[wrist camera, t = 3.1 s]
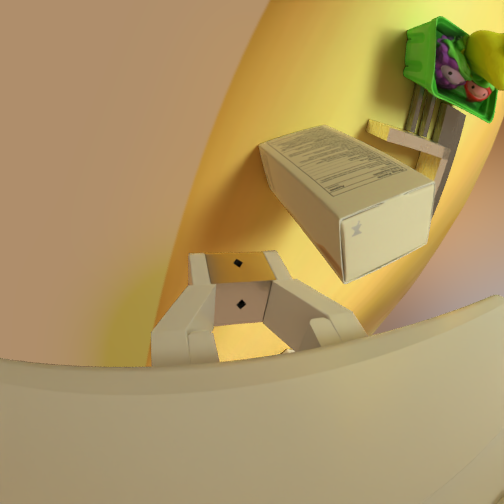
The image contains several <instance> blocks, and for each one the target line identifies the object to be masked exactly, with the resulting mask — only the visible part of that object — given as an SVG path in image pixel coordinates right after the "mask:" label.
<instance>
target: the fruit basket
mask: <svg viewBox="0 0 504 504" xmlns="http://www.w3.org/2000/svg"><path fill="white" fill-rule="evenodd" d="M407 37H408V39H409V40H408V41H407V43H406V53H405V65H406V67H405V69H404V71H403V75H404V77H406V78H408V79H410V80H411V81H413V82H415V83H417V84H419V85H420V86H422V87H424V88H425V89H427V90H428V92H429V93H431V94H432V95H434V96H435V97H437V98H439V99H442V100H444V101H446V102H449V103H451V104H453V105H455V106H457V107H459V108H461V109H463V110H465V111H467V112H469V113H471V114H473V115H475V116H477V117H479V118H480V119H482V120H484V121H485V122H487V123H491V122H492V120H493V118H494V113H495V107H496V101H497V93H498V90H502V91H504V33H495V32H491V31H486V30H480V31H476V32H474V33H473V34H471V35H468V34H467V33H466V32H464V31H463V30H462V29H460V28H459V27H457V26H456V25H455V24H453V23H452V22H450V21H449V20H447V19H446V18H444V17H442V16H439V17H437V18H434V19H432V20H431V21H430V22H427V23H425V24H422V25H419V26H417V27H414V28H412V29H409V30H408V31H407Z"/></svg>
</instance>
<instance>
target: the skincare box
mask: <svg viewBox="0 0 504 504" xmlns="http://www.w3.org/2000/svg"><path fill="white" fill-rule="evenodd" d="M259 151H260V155H261V159H262V163H263V167H264V171H265V174H266V178H267V181H268V184H269V187H270V189H271V191H272V192H273V193H274V194H275V196H276V197H277V198H278V199H279V201H280V202H281V203H282V204H283V206H284V207H285V208H286V209H287V211H288V212H289V213H290V214H291V216H292V217H293V218H294V219H295V221H296V222H297V223H298V225H299V226H300V227H301V228H302V230H303V231H304V232H305V234H306V235H307V236H308V238H309V239H310V240H311V241H312V243H313V244H314V245H315V247H316V248H317V249H318V251H319V252H320V253H321V254H322V256H323V257H324V258H325V260H326V261H327V262H328V264H329V265H330V266H331V268H332V269H333V270H334V272H335V273H336V274H337V276H338V277H339V278H340V280H341V281H342V282H343V284H347V283H349V282H352V281H354V280H356V279H359V278H361V277H363V276H365V275H368V274H370V273H372V272H374V271H376V270H378V269H380V268H382V267H384V266H386V265H388V264H390V263H392V262H394V261H396V260H398V259H400V258H402V257H403V256H405V255H407V254H409V253H411V252H413V251H415V250H416V249H418V248H420V247H422V246H424V245H425V244H427V241H428V235H429V230H430V224H431V219H432V212H433V205H434V197H435V188H436V183H435V182H434V181H433V180H431V179H429V178H428V177H426V176H424V175H423V174H421V173H419V172H418V171H416V170H414V169H413V168H411V167H409V166H407V165H406V164H404V163H402V162H400V161H398V160H397V159H395V158H393V157H391V156H389V155H388V154H386V153H384V152H382V151H380V150H378V149H376V148H374V147H372V146H370V145H368V144H366V143H364V142H362V141H360V140H358V139H355V138H353V137H351V136H349V135H347V134H345V133H342V132H340V131H338V130H336V129H333V128H331V127H329V126H326V125H322V126H317V127H313V128H309V129H305V130H302V131H298V132H295V133H291V134H288V135H285V136H282V137H279V138H276V139H273V140H270V141H267V142H265V143H262V144H259Z"/></svg>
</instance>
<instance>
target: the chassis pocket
mask: <svg viewBox="0 0 504 504" xmlns="http://www.w3.org/2000/svg"><path fill="white" fill-rule="evenodd" d="M424 89H425V88H424V87H422V86H420V85H419V84H415V88H414V93H413V98H412V102H411V107H410V111H409V115H408V119H407V123H406V127H405V130H408V131H410V132H408V131H405V130H402V129H399V128H396V127H393V126H390V125H387V124H384V123H380V122H377V121H374V120H370V119H369V122H368V126H367V130H366V132H368V133H371V134H373V135H375V136H377V137H379V138H381V139H383V140H385V141H388V142H392V143H395V144H399V145H402V146H406V147H409V148H412V149H415V150H419V151H421V153H420V156H419V159H418V162H417V166H416V169H415V170H416V171H418V172H419V173H421V174H423V175H424V176H426V177H428V178H429V179H431V180H433V181H434V182H435V183H436V188H435V197H434V205H433V212H432V217H433V215H434V212H435V210H436V207H437V205H438V202H439V200H440V197H441V194H442V192H443V189H444V186H445V184H446V181H447V178H448V175H449V172H450V169H451V166H452V163H453V160H454V157H455V154H456V150H457V147H458V144H459V140H460V136H461V133H462V129H463V125H464V121H465V117H466V115H464V114H463V113H461V112H460V111H458V110H456V109H455V108H453V107H451V106H450V105H448V104H445V103H442V102H441V104H440V108H439V113H438V117H437V121H436V125H435V128H434V132H433V136H432V139H431V140H430V139H427V138H425V137H427V133H428V129H429V125H430V122H431V118H432V113H433V109H434V105H435V100H436V97H435V96H434V95H432V94H431V93H429V92H427V97H426V102H425V106H424V110H423V114H422V119H421V123H420V126H419V130H418V134H419V135H421V136H419V135H417V134H414V132H415V128H416V124H417V120H418V116H419V112H420V107H421V103H422V99H423V94H424ZM411 132H413V133H411ZM422 136H423V137H422Z"/></svg>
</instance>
